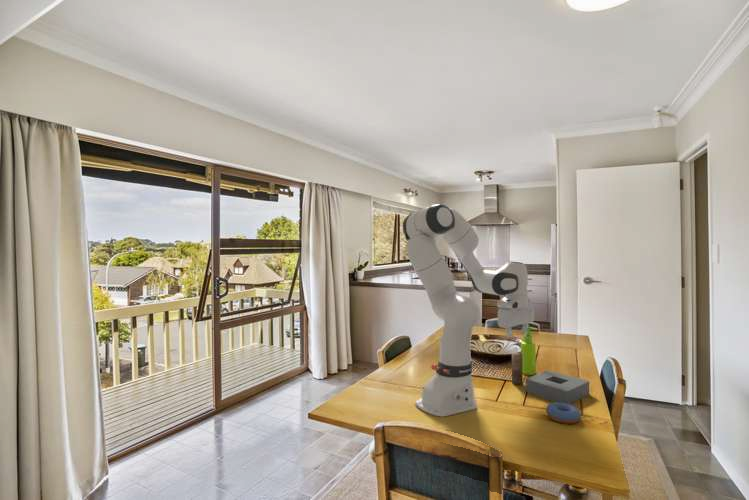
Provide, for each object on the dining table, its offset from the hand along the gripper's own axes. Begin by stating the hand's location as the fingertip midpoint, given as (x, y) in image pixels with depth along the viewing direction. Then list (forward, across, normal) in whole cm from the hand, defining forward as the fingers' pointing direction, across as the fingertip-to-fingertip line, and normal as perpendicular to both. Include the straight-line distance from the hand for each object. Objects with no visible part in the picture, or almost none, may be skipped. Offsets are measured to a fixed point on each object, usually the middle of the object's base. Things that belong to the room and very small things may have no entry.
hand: (517, 335), depth 155 cm
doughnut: (+20, +16, +27) cm, 37 cm away
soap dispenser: (+20, -15, -4) cm, 25 cm away
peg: (+20, 0, 0) cm, 20 cm away
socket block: (+20, -3, +15) cm, 25 cm away
